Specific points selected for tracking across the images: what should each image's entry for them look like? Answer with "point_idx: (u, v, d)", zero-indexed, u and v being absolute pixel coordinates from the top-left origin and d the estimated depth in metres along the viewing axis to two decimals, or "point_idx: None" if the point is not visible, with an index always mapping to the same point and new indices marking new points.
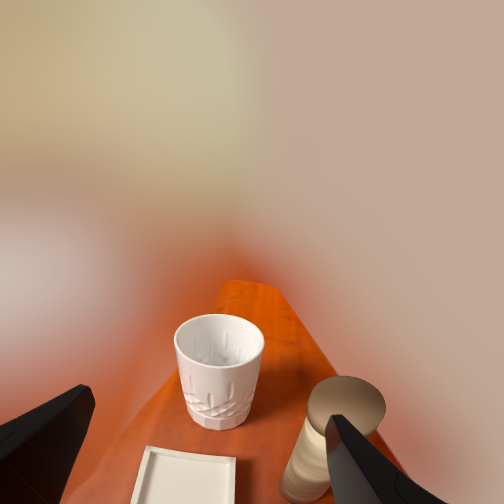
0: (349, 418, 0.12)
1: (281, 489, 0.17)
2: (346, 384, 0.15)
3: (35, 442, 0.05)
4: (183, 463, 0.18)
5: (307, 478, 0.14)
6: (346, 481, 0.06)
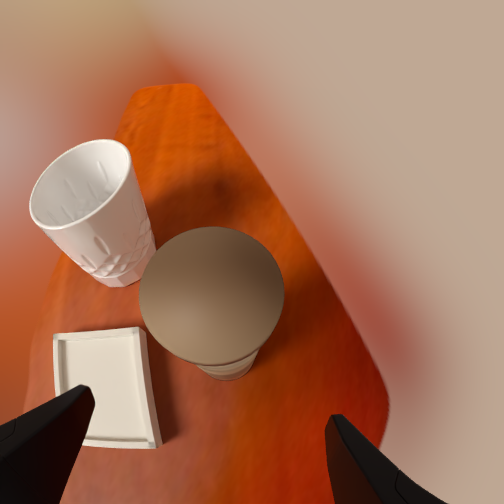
0: (206, 327, 0.08)
1: None
2: (210, 247, 0.09)
3: (35, 442, 0.05)
4: (90, 345, 0.18)
5: (205, 370, 0.14)
6: (346, 481, 0.06)
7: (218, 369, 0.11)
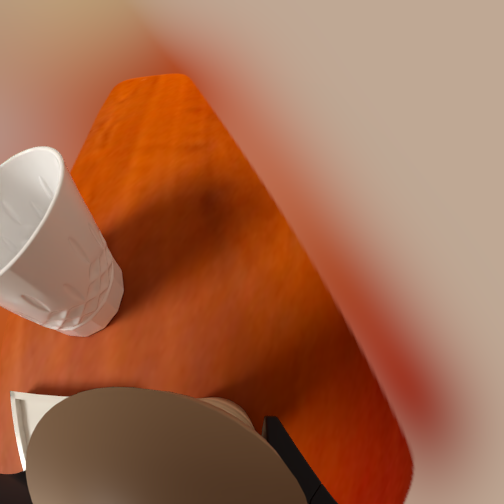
0: None
1: None
2: (137, 443, 0.03)
3: None
4: None
5: None
6: None
7: None
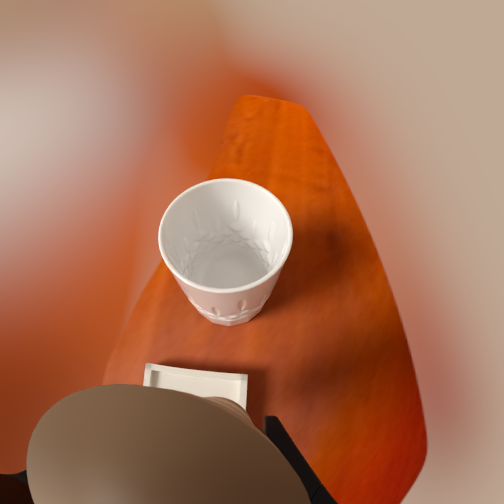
0: None
1: None
2: (138, 440, 0.03)
3: None
4: (188, 381, 0.20)
5: None
6: None
7: None
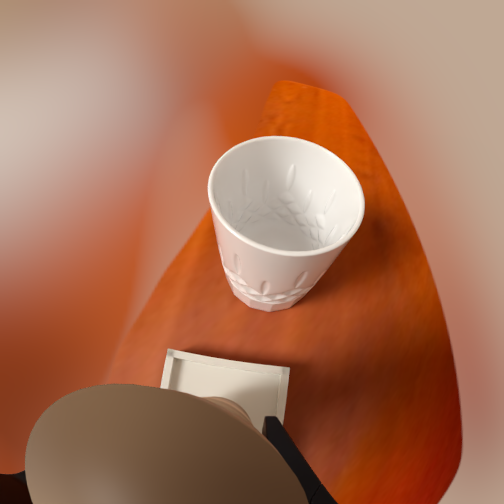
0: None
1: None
2: (136, 440, 0.03)
3: None
4: (218, 373, 0.17)
5: None
6: None
7: None
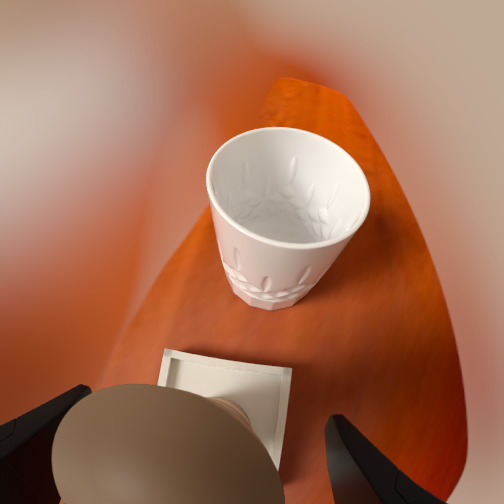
0: None
1: None
2: (146, 428, 0.04)
3: (35, 442, 0.05)
4: (217, 374, 0.16)
5: None
6: (346, 481, 0.06)
7: None
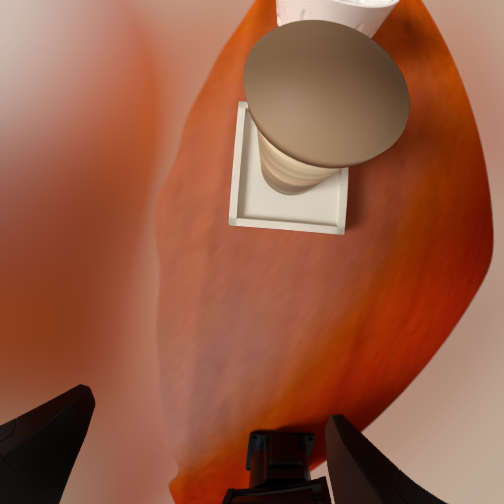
0: (337, 122, 0.06)
1: (264, 178, 0.18)
2: (320, 39, 0.06)
3: (35, 442, 0.05)
4: None
5: (288, 182, 0.13)
6: (346, 481, 0.06)
7: (317, 176, 0.10)
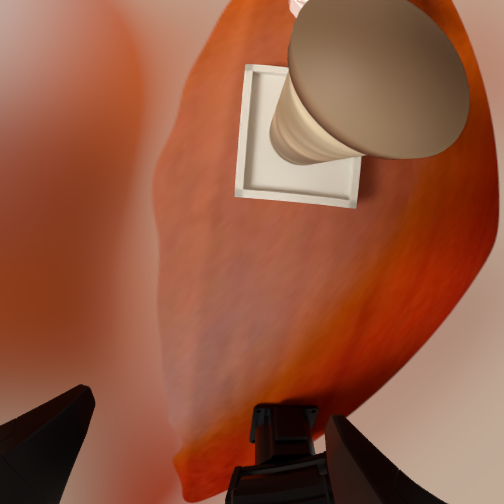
0: (402, 110, 0.05)
1: (274, 147, 0.16)
2: (380, 9, 0.04)
3: (35, 442, 0.05)
4: None
5: (309, 157, 0.11)
6: (346, 481, 0.06)
7: (350, 157, 0.09)
